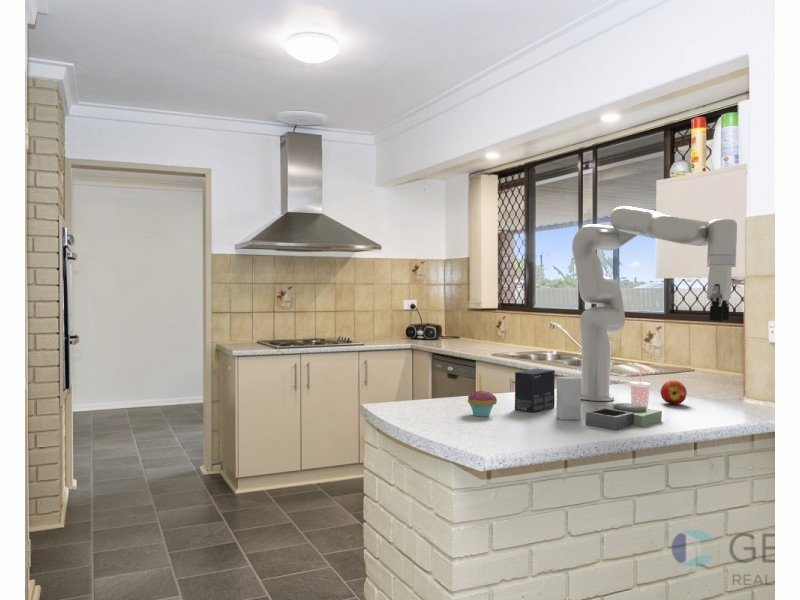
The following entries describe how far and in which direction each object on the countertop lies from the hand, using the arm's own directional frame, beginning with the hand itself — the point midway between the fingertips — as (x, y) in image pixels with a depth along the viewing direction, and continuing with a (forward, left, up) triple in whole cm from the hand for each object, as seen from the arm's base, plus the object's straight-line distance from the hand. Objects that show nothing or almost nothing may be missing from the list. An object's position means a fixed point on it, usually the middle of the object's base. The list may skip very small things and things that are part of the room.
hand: (719, 320), depth 187 cm
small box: (-44, -29, -30) cm, 60 cm away
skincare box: (-29, -34, -30) cm, 53 cm away
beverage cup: (-21, -6, -30) cm, 37 cm away
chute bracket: (-17, -32, -30) cm, 47 cm away
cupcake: (-48, -50, -30) cm, 75 cm away
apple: (-20, +16, -30) cm, 39 cm away
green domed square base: (-17, -21, -30) cm, 40 cm away
